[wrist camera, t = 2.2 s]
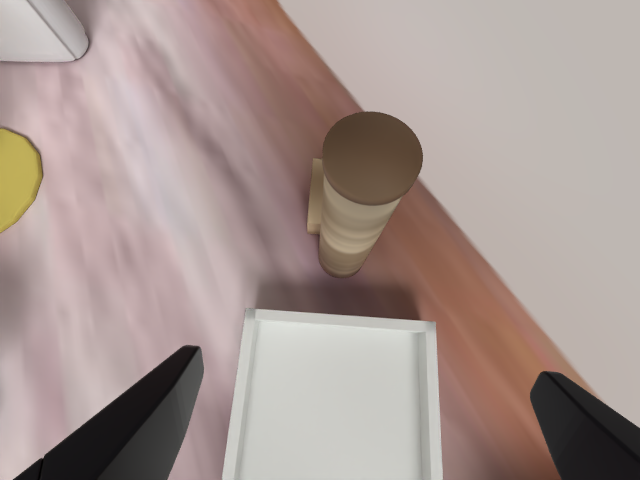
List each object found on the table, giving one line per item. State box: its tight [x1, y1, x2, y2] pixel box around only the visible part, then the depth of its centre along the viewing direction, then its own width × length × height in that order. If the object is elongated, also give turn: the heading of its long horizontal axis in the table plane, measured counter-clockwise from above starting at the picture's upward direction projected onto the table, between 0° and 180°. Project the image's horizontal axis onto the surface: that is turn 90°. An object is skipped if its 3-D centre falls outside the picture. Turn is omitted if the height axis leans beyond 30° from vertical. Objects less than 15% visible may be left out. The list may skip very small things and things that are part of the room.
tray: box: [222, 308, 443, 480], centre depth 18 cm, size 13×11×2 cm
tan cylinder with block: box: [307, 112, 423, 278], centre depth 18 cm, size 8×5×13 cm, turn 176°
